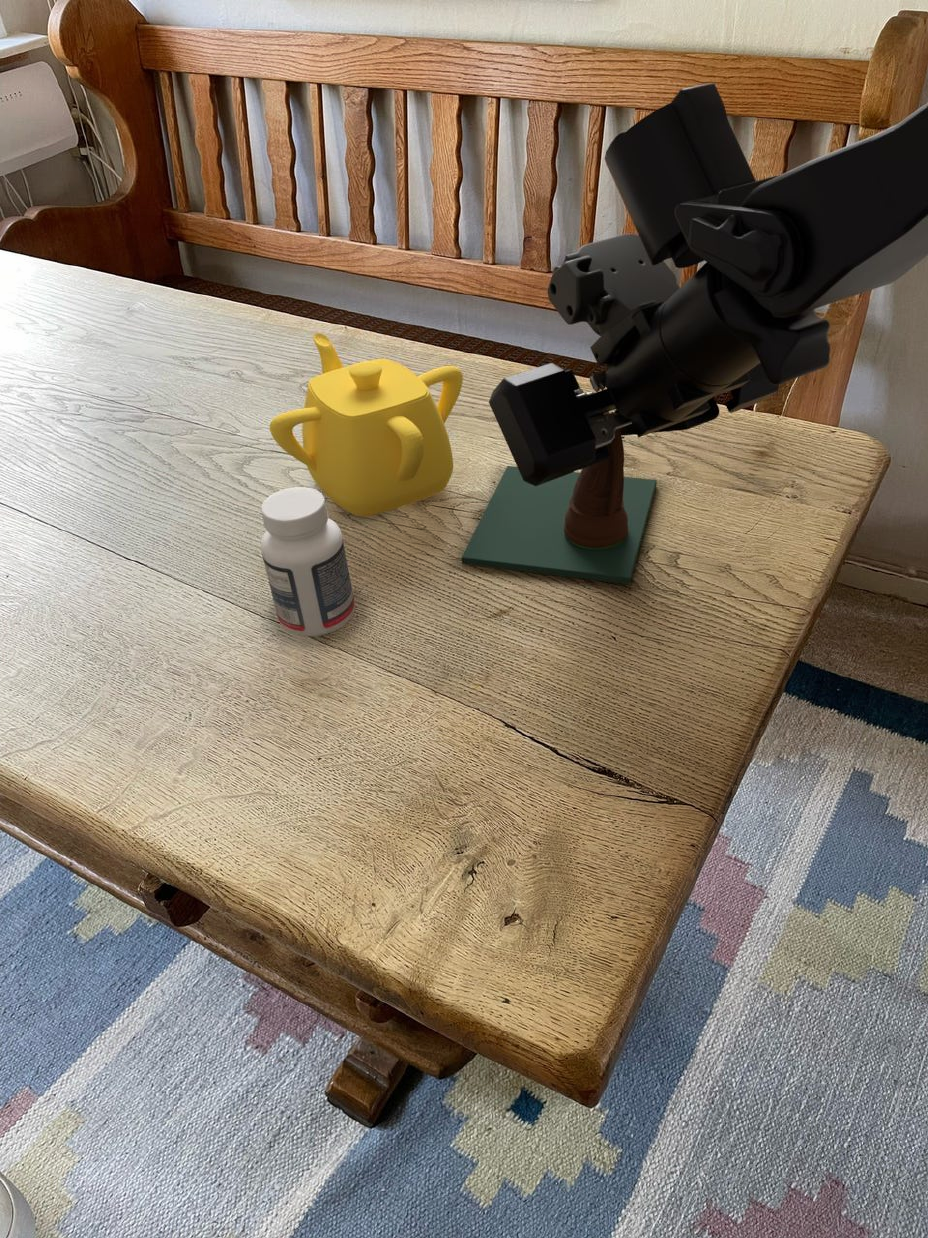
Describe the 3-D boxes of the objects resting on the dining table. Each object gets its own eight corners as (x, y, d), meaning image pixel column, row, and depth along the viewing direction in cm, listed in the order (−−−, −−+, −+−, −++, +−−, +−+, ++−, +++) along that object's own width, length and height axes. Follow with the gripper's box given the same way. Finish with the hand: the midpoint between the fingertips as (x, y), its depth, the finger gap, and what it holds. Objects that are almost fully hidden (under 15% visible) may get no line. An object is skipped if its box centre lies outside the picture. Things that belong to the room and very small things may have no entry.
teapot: (263, 515, 75) (235, 394, 69) (333, 437, 84) (314, 324, 78) (426, 540, 71) (412, 414, 65) (481, 454, 80) (474, 337, 74)
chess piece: (605, 508, 72) (609, 384, 66) (644, 541, 68) (653, 413, 62) (552, 526, 70) (551, 401, 64) (589, 561, 67) (592, 432, 60)
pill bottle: (355, 586, 67) (336, 476, 62) (356, 634, 63) (336, 521, 58) (279, 595, 67) (253, 485, 61) (276, 643, 63) (248, 530, 57)
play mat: (656, 486, 75) (656, 479, 75) (629, 585, 65) (630, 577, 65) (507, 471, 78) (507, 465, 78) (461, 564, 69) (460, 557, 68)
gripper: (773, 168, 55) (642, 300, 70) (499, 239, 49) (417, 369, 63) (854, 342, 55) (705, 439, 69) (588, 439, 48) (485, 523, 63)
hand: (582, 438), depth 66 cm, fingers open, 4 cm apart
